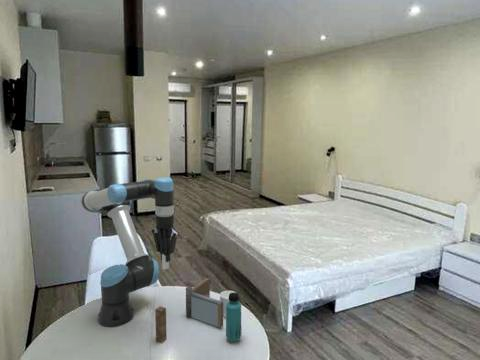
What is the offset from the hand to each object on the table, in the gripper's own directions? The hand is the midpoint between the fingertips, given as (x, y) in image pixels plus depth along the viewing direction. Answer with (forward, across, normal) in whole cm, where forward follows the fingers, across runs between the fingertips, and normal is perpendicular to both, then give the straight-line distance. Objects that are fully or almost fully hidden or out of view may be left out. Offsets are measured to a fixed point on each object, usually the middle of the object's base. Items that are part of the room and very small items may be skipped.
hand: (165, 268), depth 146 cm
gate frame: (+26, +5, +8) cm, 28 cm away
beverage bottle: (+27, +31, +4) cm, 41 cm away
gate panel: (+25, +15, +9) cm, 31 cm away
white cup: (+27, +20, +20) cm, 39 cm away
